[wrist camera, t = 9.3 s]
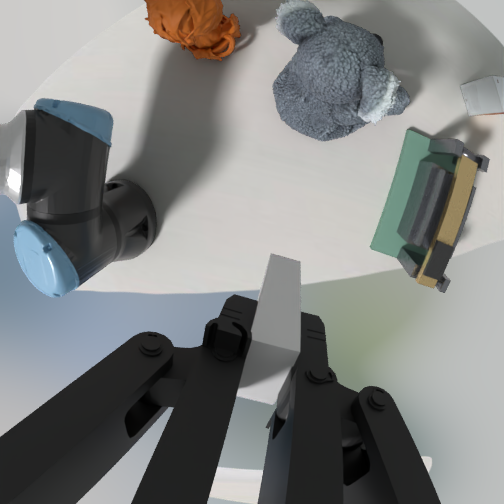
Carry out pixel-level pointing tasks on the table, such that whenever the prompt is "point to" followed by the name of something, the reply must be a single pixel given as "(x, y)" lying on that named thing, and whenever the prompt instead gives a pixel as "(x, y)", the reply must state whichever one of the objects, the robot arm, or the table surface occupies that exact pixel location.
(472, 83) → the small box
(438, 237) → the tan and black bar
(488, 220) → the table surface
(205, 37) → the orange tall rounded piece
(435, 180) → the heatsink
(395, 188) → the board
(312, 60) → the koala plush
